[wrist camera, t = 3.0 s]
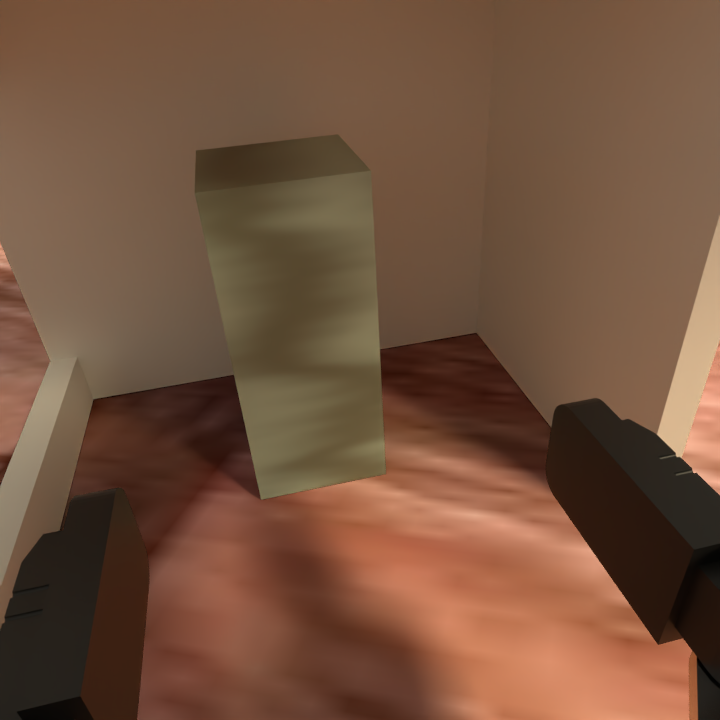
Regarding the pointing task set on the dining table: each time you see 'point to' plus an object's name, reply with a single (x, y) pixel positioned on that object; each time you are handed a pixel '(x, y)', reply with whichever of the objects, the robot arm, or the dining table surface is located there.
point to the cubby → (389, 193)
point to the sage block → (298, 305)
